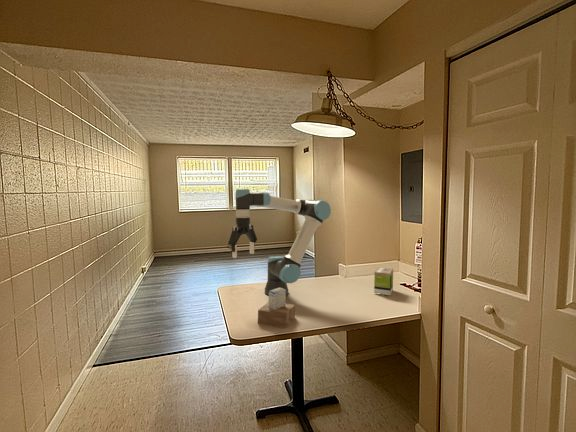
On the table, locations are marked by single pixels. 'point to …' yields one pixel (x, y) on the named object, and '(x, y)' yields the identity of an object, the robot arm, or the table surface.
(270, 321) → the walnut block
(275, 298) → the medicine box
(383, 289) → the tea box
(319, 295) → the table surface
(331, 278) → the table surface
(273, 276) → the robot arm
